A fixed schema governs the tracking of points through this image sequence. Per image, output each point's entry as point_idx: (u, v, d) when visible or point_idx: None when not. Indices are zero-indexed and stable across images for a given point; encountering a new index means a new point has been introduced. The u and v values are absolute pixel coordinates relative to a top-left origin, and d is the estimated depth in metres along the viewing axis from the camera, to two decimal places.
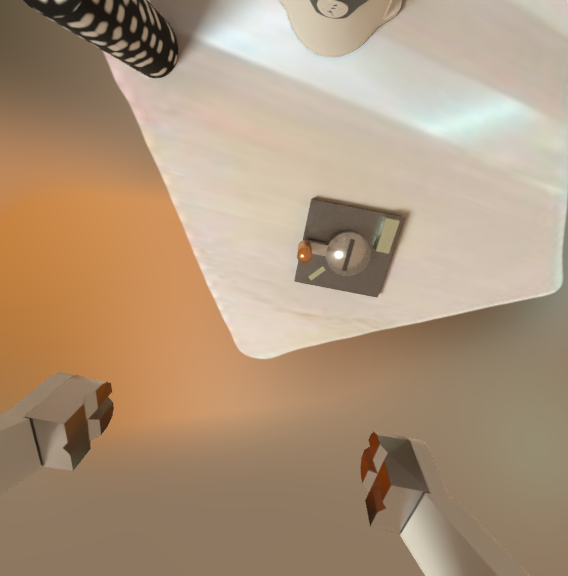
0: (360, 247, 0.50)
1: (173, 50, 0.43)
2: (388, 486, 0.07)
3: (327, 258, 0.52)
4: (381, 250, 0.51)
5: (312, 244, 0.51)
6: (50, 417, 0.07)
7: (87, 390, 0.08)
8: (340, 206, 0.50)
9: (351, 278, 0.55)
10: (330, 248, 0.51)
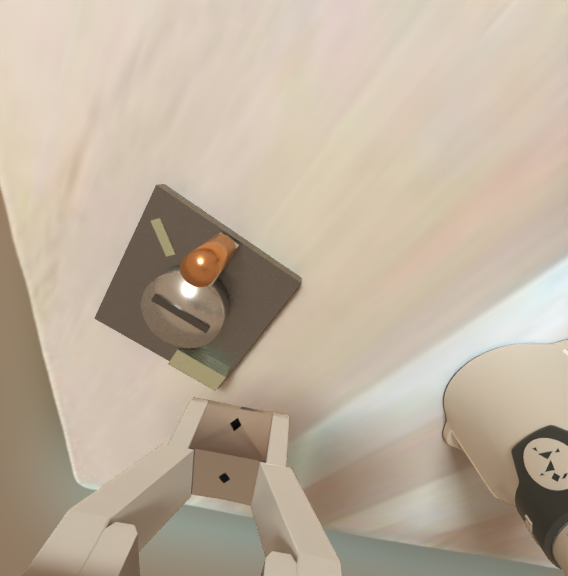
0: (190, 335, 0.28)
1: None
2: (227, 456, 0.07)
3: None
4: (176, 356, 0.30)
5: None
6: (211, 447, 0.07)
7: (229, 417, 0.08)
8: (269, 320, 0.30)
9: (139, 292, 0.30)
10: (204, 289, 0.26)
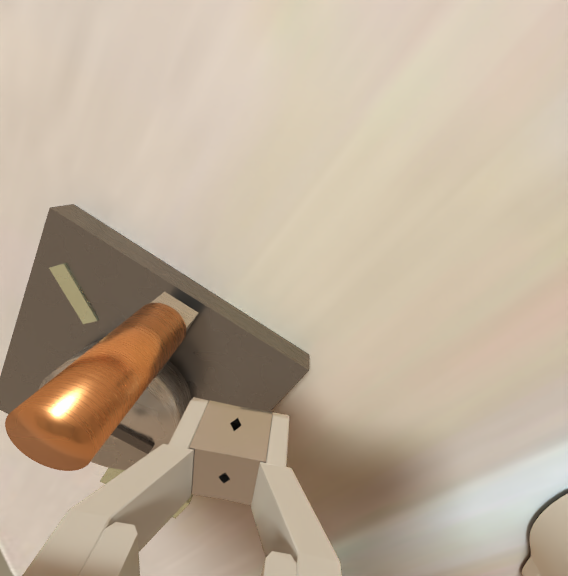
0: (123, 453, 0.17)
1: None
2: (227, 456, 0.07)
3: None
4: (111, 473, 0.19)
5: None
6: (211, 447, 0.07)
7: (229, 417, 0.08)
8: None
9: (50, 373, 0.19)
10: None
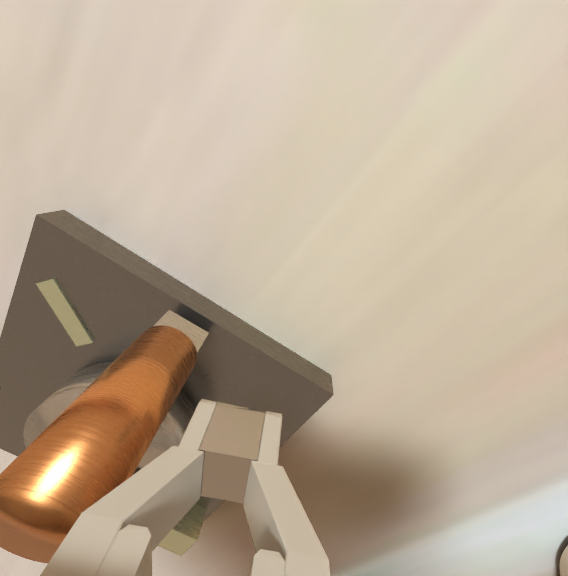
0: None
1: None
2: (218, 454, 0.07)
3: None
4: None
5: None
6: (220, 449, 0.07)
7: (238, 418, 0.08)
8: None
9: (38, 399, 0.16)
10: None
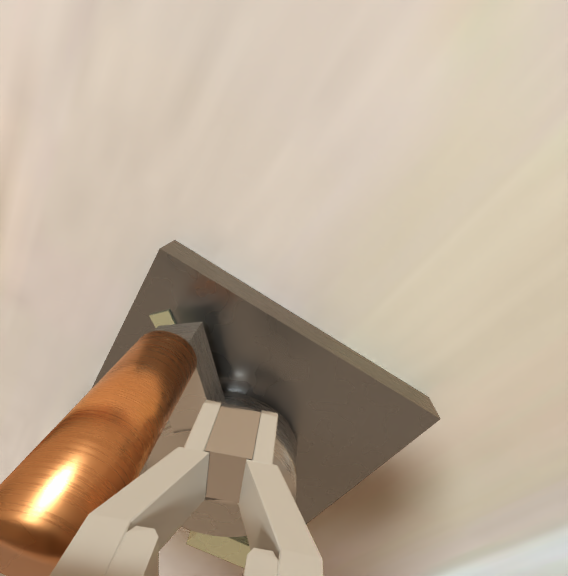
0: None
1: None
2: (213, 453, 0.07)
3: (168, 440, 0.13)
4: (201, 535, 0.17)
5: (192, 379, 0.11)
6: (226, 450, 0.07)
7: (243, 419, 0.08)
8: (368, 471, 0.16)
9: None
10: None
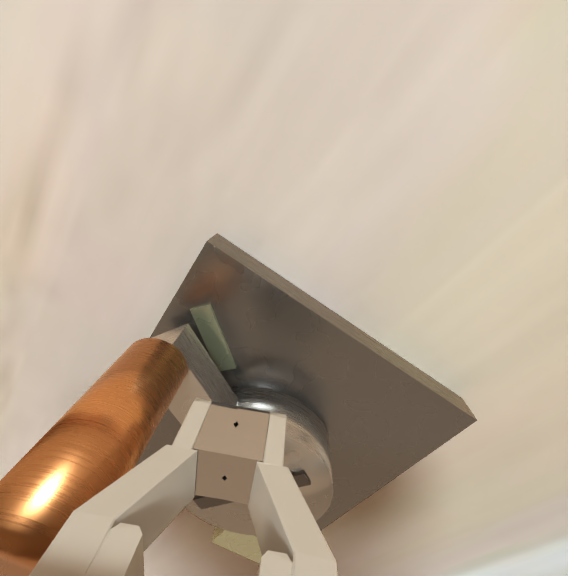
0: None
1: None
2: (224, 455, 0.07)
3: None
4: (227, 534, 0.17)
5: (189, 380, 0.11)
6: (214, 448, 0.07)
7: (233, 417, 0.08)
8: (399, 471, 0.16)
9: (160, 423, 0.16)
10: None
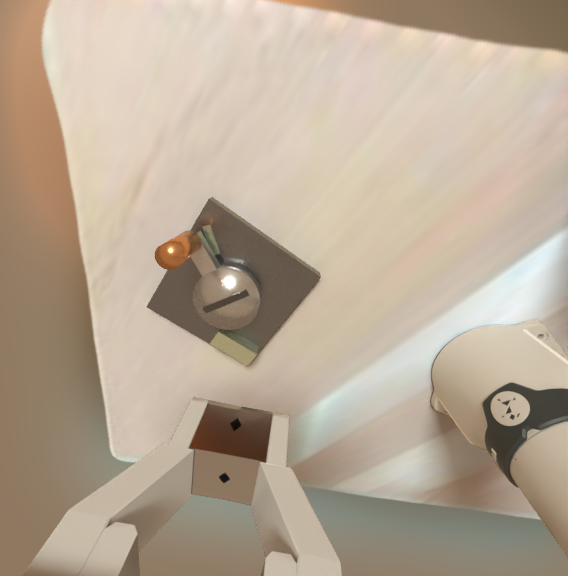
0: (246, 307, 0.34)
1: None
2: (227, 456, 0.07)
3: (201, 280, 0.33)
4: (216, 337, 0.37)
5: (201, 248, 0.32)
6: (210, 447, 0.07)
7: (229, 417, 0.08)
8: (293, 307, 0.37)
9: (186, 284, 0.36)
10: (216, 274, 0.33)
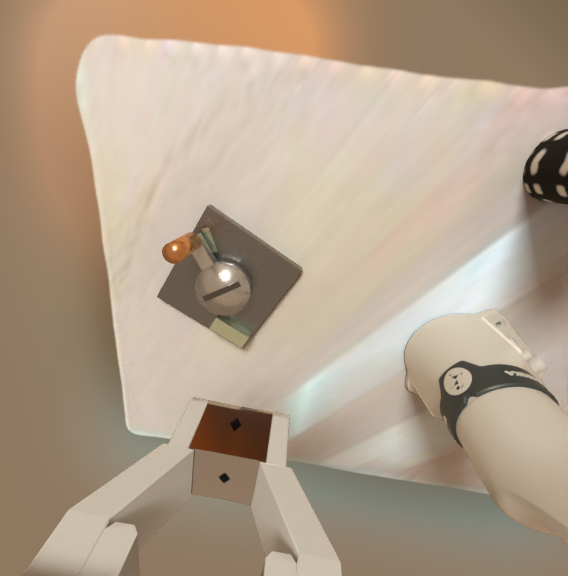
0: (238, 296, 0.41)
1: (537, 194, 0.35)
2: (227, 456, 0.07)
3: (201, 273, 0.40)
4: (215, 323, 0.44)
5: (201, 247, 0.38)
6: (211, 447, 0.07)
7: (229, 417, 0.08)
8: (280, 297, 0.43)
9: (190, 277, 0.43)
10: (213, 268, 0.39)
